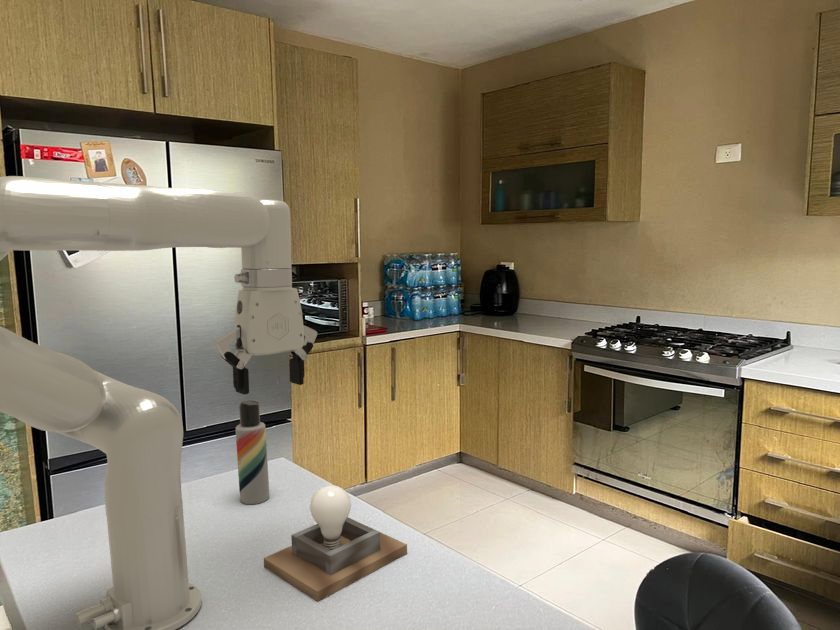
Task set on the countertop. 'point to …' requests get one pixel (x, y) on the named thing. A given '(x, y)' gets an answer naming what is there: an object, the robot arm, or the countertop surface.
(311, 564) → the lamp socket
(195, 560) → the countertop surface
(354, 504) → the countertop surface
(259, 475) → the lotion bottle
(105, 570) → the countertop surface
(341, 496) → the lightbulb
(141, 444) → the robot arm
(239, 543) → the countertop surface
